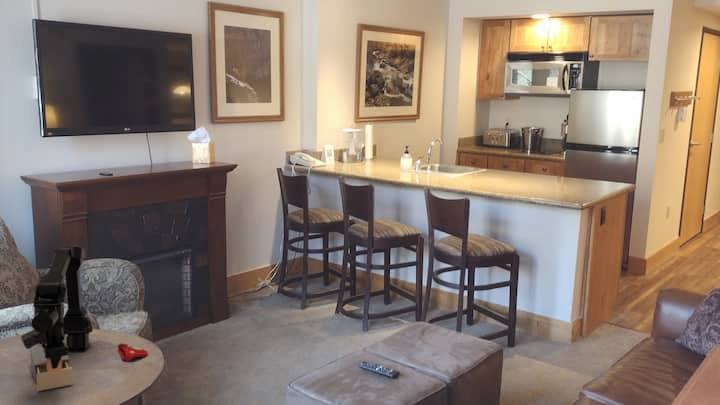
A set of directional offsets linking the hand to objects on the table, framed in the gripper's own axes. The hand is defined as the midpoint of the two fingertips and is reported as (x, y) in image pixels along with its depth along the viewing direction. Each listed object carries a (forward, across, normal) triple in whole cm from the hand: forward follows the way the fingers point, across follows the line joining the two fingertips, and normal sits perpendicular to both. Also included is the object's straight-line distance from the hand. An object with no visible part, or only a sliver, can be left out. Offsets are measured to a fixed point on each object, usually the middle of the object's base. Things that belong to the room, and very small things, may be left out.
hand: (54, 367), depth 189 cm
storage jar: (+7, -41, +3) cm, 42 cm away
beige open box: (+7, -7, 0) cm, 9 cm away
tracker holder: (+8, -15, +26) cm, 31 cm away
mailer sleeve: (+7, -14, 0) cm, 16 cm away
